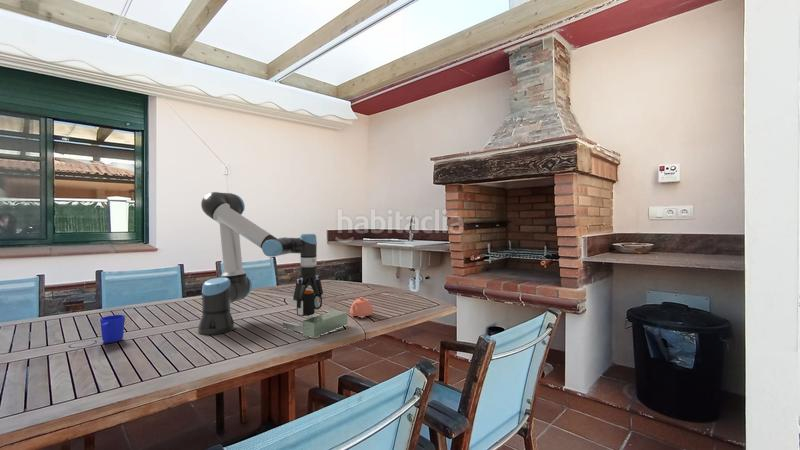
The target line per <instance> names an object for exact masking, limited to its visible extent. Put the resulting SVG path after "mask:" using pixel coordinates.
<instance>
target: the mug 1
mask: <svg viewBox="0 0 800 450" xmlns="http://www.w3.org/2000/svg"><path fill="white" fill-rule="evenodd" d="M125 320H126V315H125V314H114V315H113V314H112V315H107V316H104V317H101V318H100V319H99V321H100V331H101V338H102V339H101V340H102V342H103V343H106V344H108V343H109V344H110V343H116V342H119V341H121V340H122V339H123V338H124V332H125V331H124V330H125Z"/></svg>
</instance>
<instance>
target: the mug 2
mask: <svg viewBox="0 0 800 450" xmlns="http://www.w3.org/2000/svg"><path fill="white" fill-rule="evenodd" d="M316 296H319V297H320V303H319V307H315V305H314V299H315V298H316ZM302 301H303V315H299V314H298V308H297V307H296V315H297V316H300V317H308V316H309V315H314V314H315V311H316V310H315V309H319V310H320V309H321V308H322V306H323V298H322V296H321V295H320V294H316V295H315V294H314V291H313V290H307V289H306V290H305V293H304V295H303V298H302Z"/></svg>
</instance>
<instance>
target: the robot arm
mask: <svg viewBox="0 0 800 450" xmlns="http://www.w3.org/2000/svg"><path fill="white" fill-rule="evenodd" d="M200 205H201V209H202V212H203V213H204V214H206V216H208V218H211V219H212V220H214V221H215V222H217V223H218V224H219V232H220V233H219V235H220V242H221V243H220V245H221V253H222V254H221V255H222V264H223V265H222V266H223V273H222V274H221V275H220V277H216V278H210V279H208V280H206V281H204V282H203V283H202V289H201V300H202V301H201V302H202V303H201V308H202V310H201V311H202V312H201V313H202V314H201V317H200V319H199V323H198V326H197V333H198V334H200V335H206V336H207V335H219V334H225V333H229V332H230V331H232V330H234V329H235V321H234V319H233V316H232V313H231V304H232V303H234V302H237V301H240V300H243V299H245V298H247V297H248V296H249V295H250V294H251V292H252V289H253V282H252V280H251V279H250V278H249V276H247V272H246V271H245V270H244V269H243V259H242V249H241V238H240V236H242V237H244V238H245V239H247V240H248V241H250V242H251V243H253V244H254V245H255V246H257V247H259V248H260V249H261V250H262V253H263V254H264V255H265V256H267V257H269V258H275V257H279V256H283V255H287V254H300V275H301V277H300V278H295V289H294V291H293V292H294V293H293V298H292V299H293V301H296V309H297V308H298V314H299V315H303V301H302V298H303V295H304V293H305V291H306V290H307V288H308V287H309V286H311V289H312V291H314V295H316V294H320V295H321V297H322V295H324V290H323V285H322V281H321V280H322V279H321V275H316V274H317V273H318V272H317V271H318V269H317V261H318V260H317V244H318V242H317V235H316V234H314V233H302V234H300V237H279V238H277V237H275V236H274V235H273V234H271V233H270V232H268V231H266V230H265V229H264V228H262V227H261V226H259V225H257V224H256V223H254V222H253V221H251V220H249V219H248V218H246V216H243V213H244V212H245V202H244V200H243V199H242V198H241V196H239V195H237V194H235V193H232V192H230V193H229V192H227V193H226V192H219V191H213V192H209V193H207V194H205V195H204V196H203V198H202V199H201V203H200ZM314 305H315V307H319V306H320V297H319V296H316V298H315V299H314ZM315 311H320V308H319V309H315ZM299 315H298V316H299Z"/></svg>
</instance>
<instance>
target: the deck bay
mask: <svg viewBox="0 0 800 450" xmlns="http://www.w3.org/2000/svg"><path fill="white" fill-rule="evenodd" d="M346 324H347V325H348V311H344V310H343V311H342V310H338V309H337V310H332V311H329V312H326V313H323V314H320V315H314V314H313V315H309V316H307V319H303V320H302V324H298V323H293V322H290V321H289V322H288V321H283V322H282V329H283V328H286V329H290V330H295V331H299V332H303V334H302V336H303V335H307V336H311V337H316V336H319V335H321V334H324V333H326V332H329V331H331V330H334V329H336V328H339V327H341V326H344V325H346ZM286 329H285V330H286ZM290 330H289V331H290Z"/></svg>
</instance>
